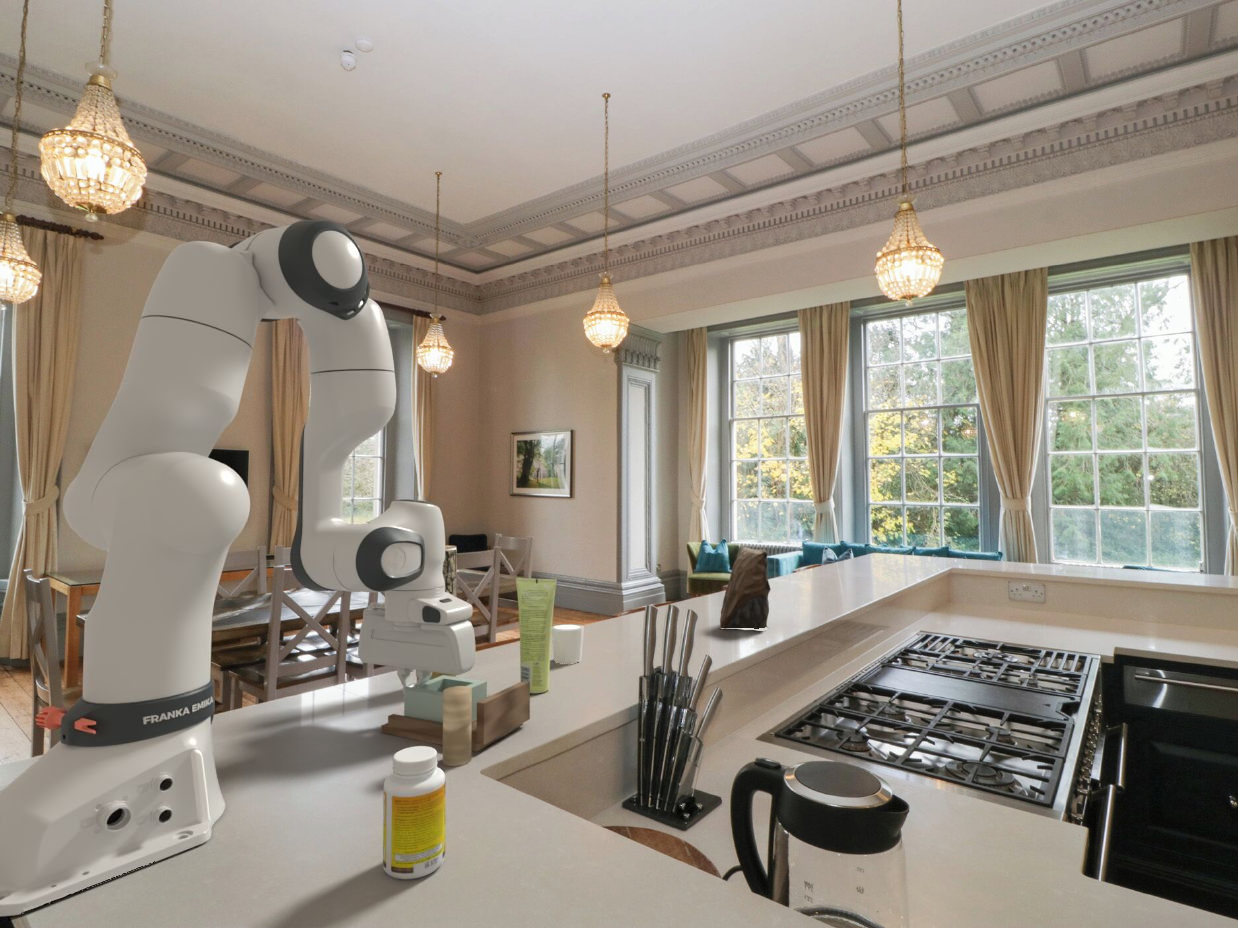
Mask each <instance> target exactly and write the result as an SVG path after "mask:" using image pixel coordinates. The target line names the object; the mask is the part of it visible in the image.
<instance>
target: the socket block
mask: <svg viewBox="0 0 1238 928" xmlns="http://www.w3.org/2000/svg"><path fill="white" fill-rule="evenodd" d="M455 686H466V687H470V688H471V689H472V716H471V723H472V722H474V721H476V720H477V702H479V701H481V700H483V699H485V698H487V697H488V689H487V688H488V682H487V681H486V680H478V679H472V678H465V677H460V676H458V677H457V676H456V677H452V676H445V675H442V676H440V677H437V678H434V679H432V680H429V681H427V682H424V683H421V684H419V685H416V686H413V687H411V688H408V689H405V690H404V696H403V697H404V699H403V700H404V702H403V703H404V705H403V706H404V707H403V708H404V709H403V714H404V715H403V716H408V717H413V718H419V719H424V720H430V721H435V722H441V723H443V690H445V689H446V688H450V687H455Z"/></svg>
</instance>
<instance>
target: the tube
mask: <svg viewBox="0 0 1238 928" xmlns="http://www.w3.org/2000/svg"><path fill="white" fill-rule="evenodd" d="M557 580H558V579H557V578H552V579H550V578H530V577H529V578H527V577H525V578H524V577H516V578H515V583H516V592H517V593H516V594H517V603H518V604H517V605H518V606H517V607H518V621H519V622H518V624H519V652H520V656H519V657H520V662H519V663H520V664H519V665H520V672H519V673H520V675H519V676H520V682H521V681H529V682H530V694H542V693H545V692H547V690H549V689H550V667H551V648H552V647H551V646H552V645H551V644H552V626H553V618H554V605H555V595H556V589H557V583H558V582H557Z"/></svg>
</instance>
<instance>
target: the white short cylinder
mask: <svg viewBox="0 0 1238 928" xmlns="http://www.w3.org/2000/svg"><path fill="white" fill-rule="evenodd" d="M584 631H585V626H584V625H582V624H578V623H577V624H575V623H564V624H556V625H552V633H551V644H552V651H553V652H552V653H553V662H554V661H555V662H556V663H555V662H554V663H555V664H557V663H563V664H562V665H564V663H565V664H568V665H572V664H571V663H576V664H578V663H577V662H579V661H581V662H582V658H583V645H584V644H583V643H584V635H585V634H584V633H585V632H584Z"/></svg>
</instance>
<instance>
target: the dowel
mask: <svg viewBox="0 0 1238 928" xmlns="http://www.w3.org/2000/svg"><path fill="white" fill-rule="evenodd" d="M471 716H472V689H471V688H470V687H466V686H455V687H450V688H446V689H445V690H443V745H442V764H443V765H445V766H447V767H460V766H464V765H467V764H469V763H470V762H471V761H472V751H471Z"/></svg>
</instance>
